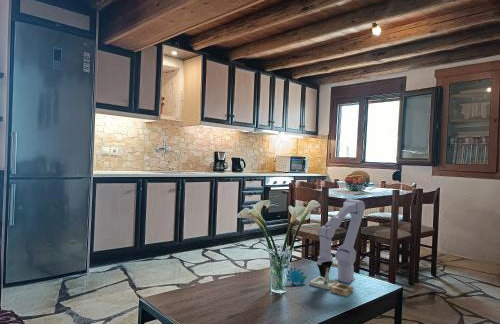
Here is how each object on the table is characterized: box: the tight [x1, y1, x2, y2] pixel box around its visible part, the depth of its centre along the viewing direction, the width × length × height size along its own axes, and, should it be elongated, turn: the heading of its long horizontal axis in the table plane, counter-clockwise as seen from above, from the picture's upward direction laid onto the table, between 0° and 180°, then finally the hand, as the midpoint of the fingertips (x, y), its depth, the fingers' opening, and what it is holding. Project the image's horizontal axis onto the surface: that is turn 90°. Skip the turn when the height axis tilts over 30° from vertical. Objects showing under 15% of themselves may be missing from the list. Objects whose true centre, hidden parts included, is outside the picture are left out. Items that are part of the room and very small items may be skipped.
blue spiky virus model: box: [286, 267, 308, 287], centre depth 183 cm, size 11×6×10 cm
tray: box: [309, 275, 339, 291], centre depth 182 cm, size 11×11×2 cm
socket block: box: [330, 282, 354, 297], centre depth 173 cm, size 8×8×2 cm
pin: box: [323, 267, 330, 284], centre depth 182 cm, size 4×4×8 cm
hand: (324, 275), depth 182 cm, fingers closed on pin, 3 cm apart
